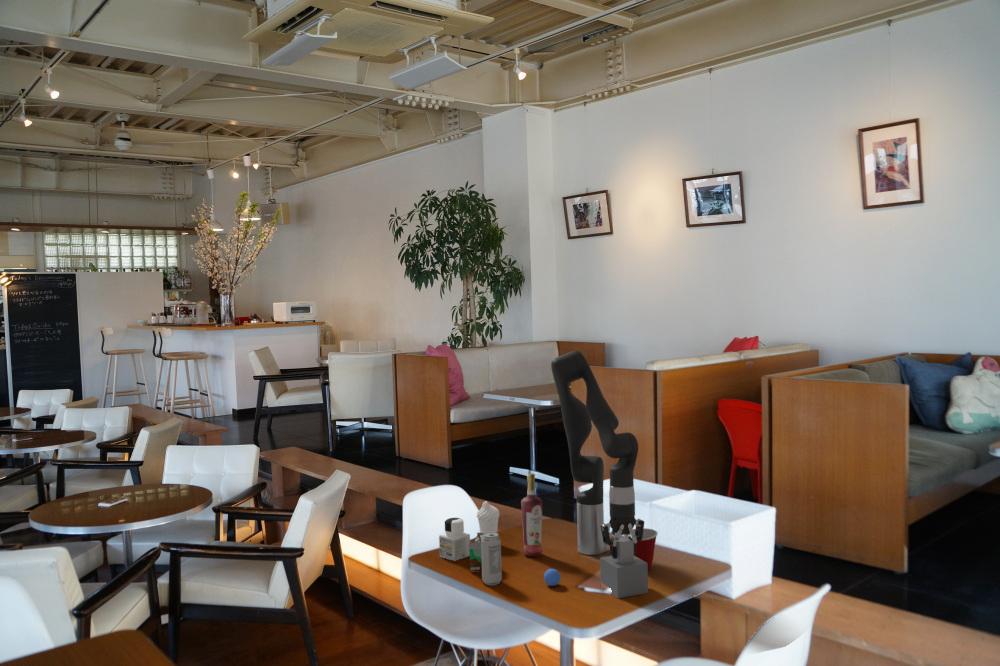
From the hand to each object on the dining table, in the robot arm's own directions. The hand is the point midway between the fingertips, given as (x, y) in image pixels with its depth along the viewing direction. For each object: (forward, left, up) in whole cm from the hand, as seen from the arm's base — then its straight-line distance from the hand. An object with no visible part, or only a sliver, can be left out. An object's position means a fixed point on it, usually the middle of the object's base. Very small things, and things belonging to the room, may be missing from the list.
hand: (623, 556), depth 218 cm
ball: (+18, -12, -7) cm, 23 cm away
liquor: (+12, -41, -10) cm, 44 cm away
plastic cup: (-14, -13, -10) cm, 22 cm away
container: (+37, -51, -10) cm, 64 cm away
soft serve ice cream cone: (+22, -58, -10) cm, 63 cm away
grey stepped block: (0, 0, -10) cm, 10 cm away
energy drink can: (+34, -22, -10) cm, 42 cm away
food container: (+32, -36, -10) cm, 49 cm away
